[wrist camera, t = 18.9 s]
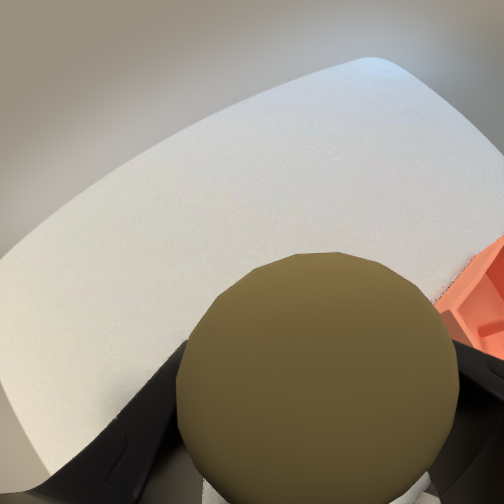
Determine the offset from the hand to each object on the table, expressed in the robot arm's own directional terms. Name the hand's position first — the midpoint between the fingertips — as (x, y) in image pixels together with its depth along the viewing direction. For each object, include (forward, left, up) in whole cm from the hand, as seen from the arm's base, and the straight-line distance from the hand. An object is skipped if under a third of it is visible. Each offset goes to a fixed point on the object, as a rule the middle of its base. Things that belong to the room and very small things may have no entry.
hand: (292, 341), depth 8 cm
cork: (-1, -1, -7) cm, 7 cm away
